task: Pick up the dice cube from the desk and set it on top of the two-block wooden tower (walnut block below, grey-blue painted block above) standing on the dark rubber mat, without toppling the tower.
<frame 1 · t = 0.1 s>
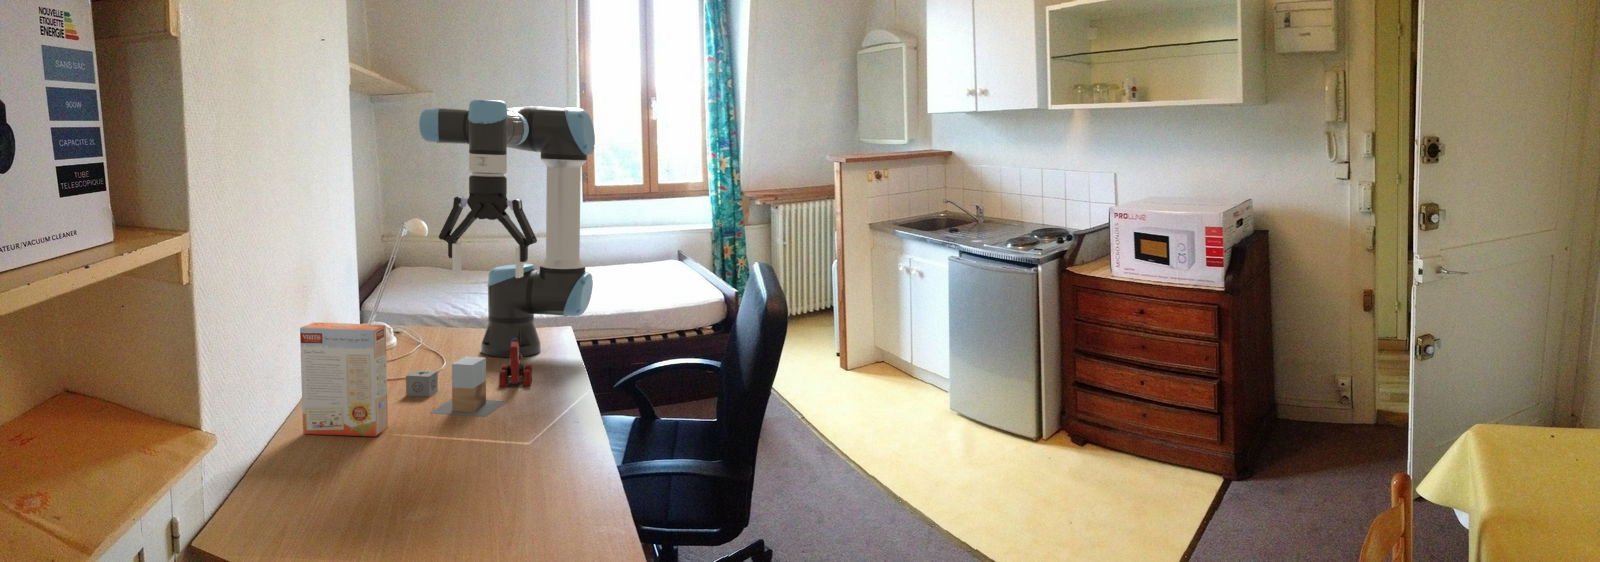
hand: (488, 275, 208), 28 cm above the table, fingers open, 13 cm apart
tower mid: (469, 383, 206), point 5 cm above the table, touching tower base
cracker box: (346, 432, 188), on the table
dice cube: (422, 396, 216), on the table
tower base: (469, 406, 207), resting on mat, touching tower mid
mat: (469, 408, 207), on the table
toy fire truck: (515, 385, 229), on the table
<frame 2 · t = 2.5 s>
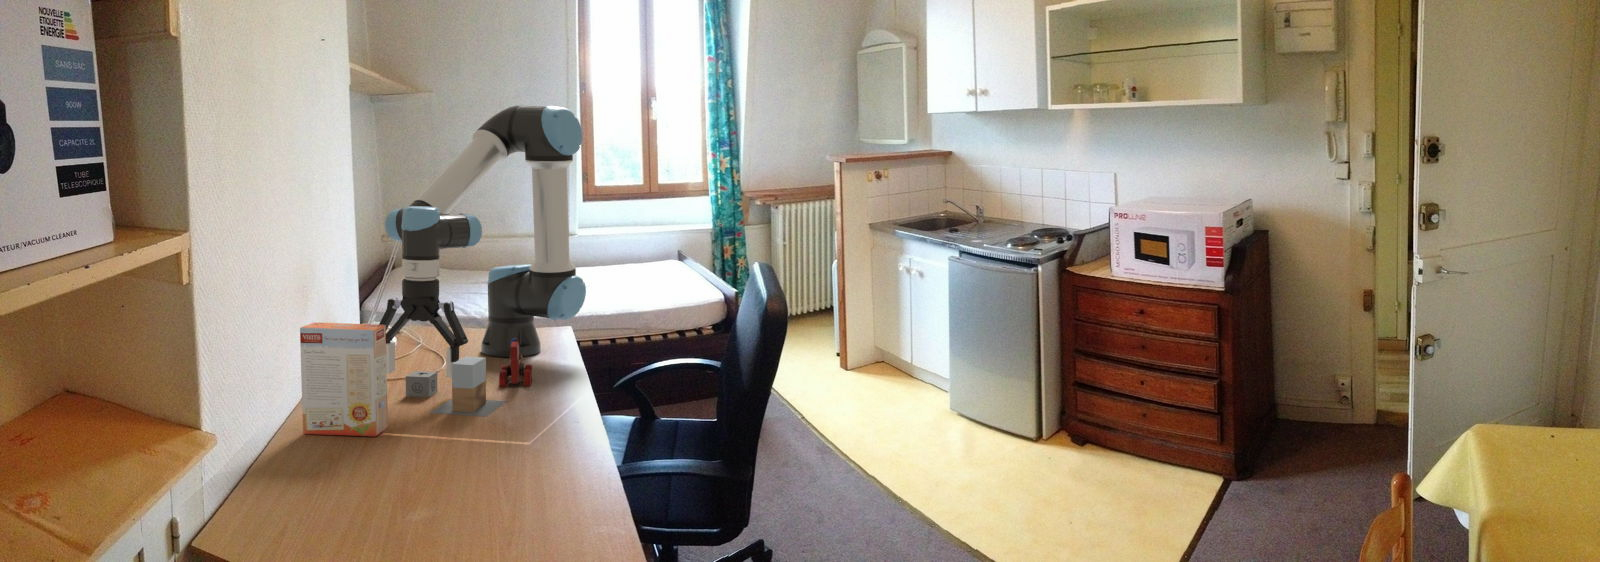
hand: (420, 374, 215), 5 cm above the table, fingers open, 13 cm apart
nothing on the table moved.
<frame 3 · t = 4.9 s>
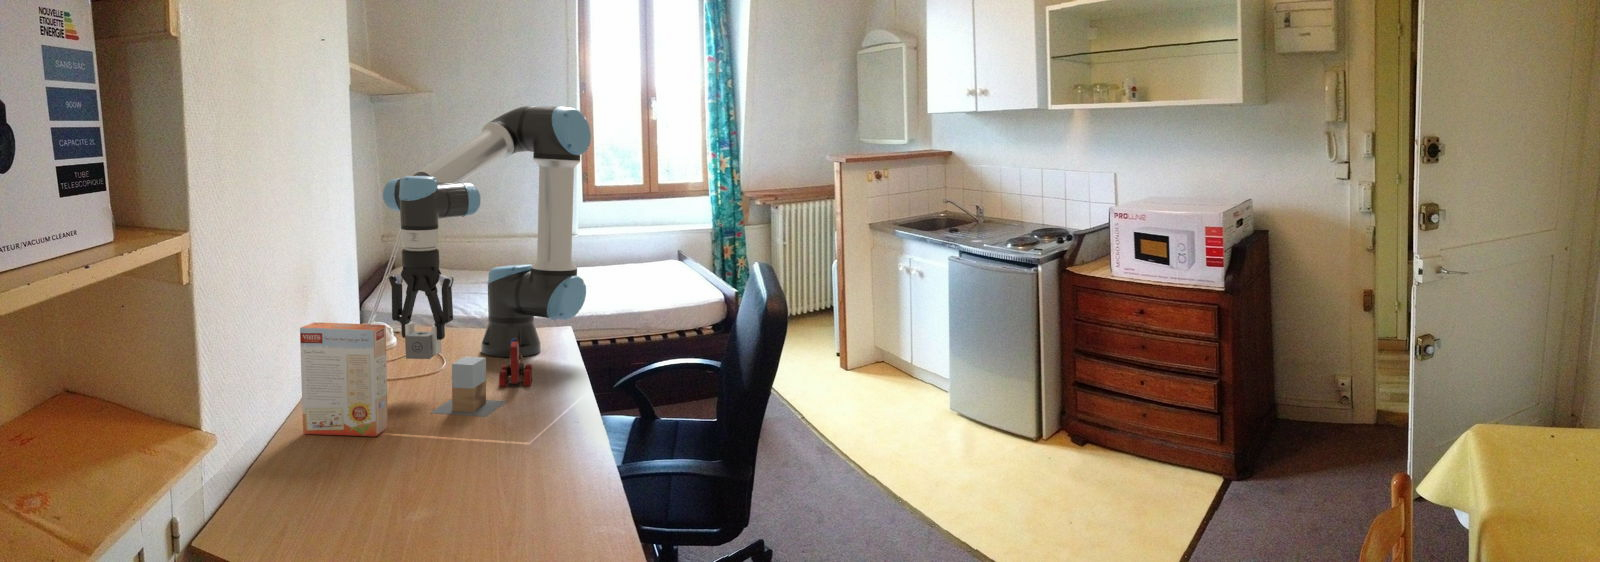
hand: (423, 352, 215), 9 cm above the table, fingers closed on dice cube, 5 cm apart
dice cube: (421, 357, 214), point 9 cm above the table, touching gripper
everything else where it was.
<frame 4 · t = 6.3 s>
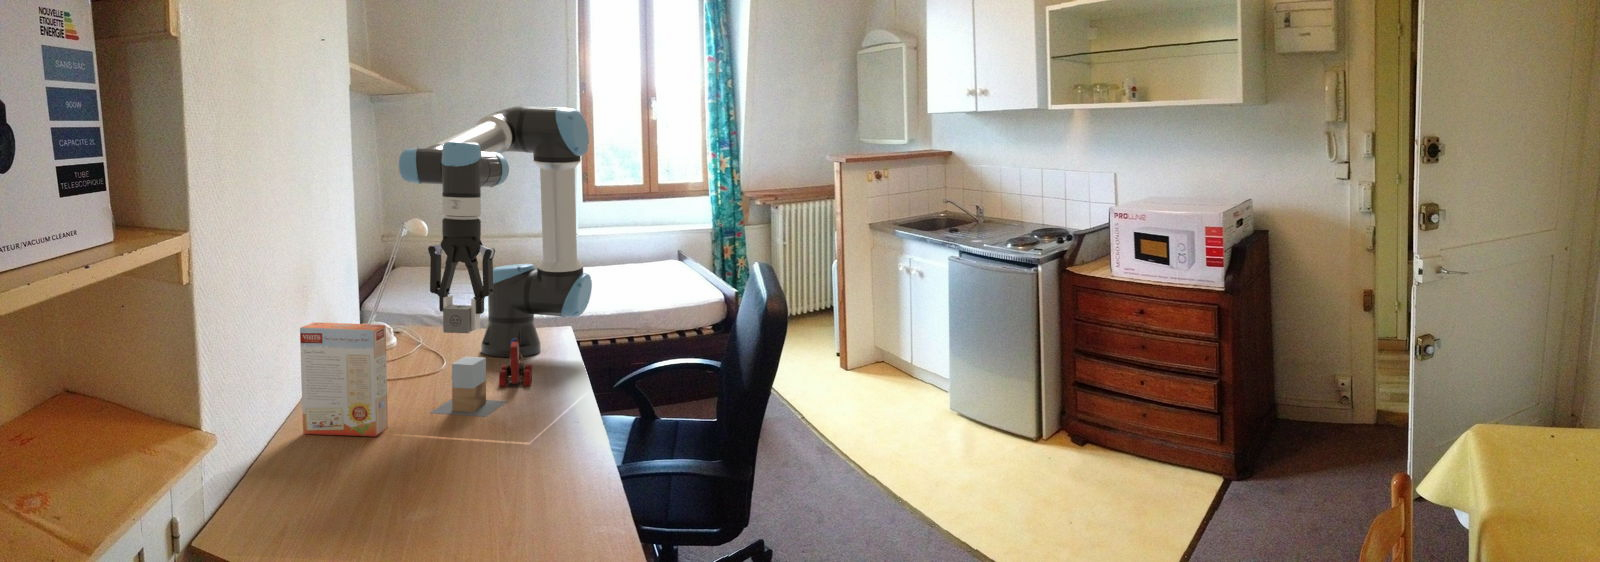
hand: (461, 327, 205), 17 cm above the table, fingers closed on dice cube, 5 cm apart
dice cube: (459, 331, 204), point 17 cm above the table, touching gripper
everything else where it was.
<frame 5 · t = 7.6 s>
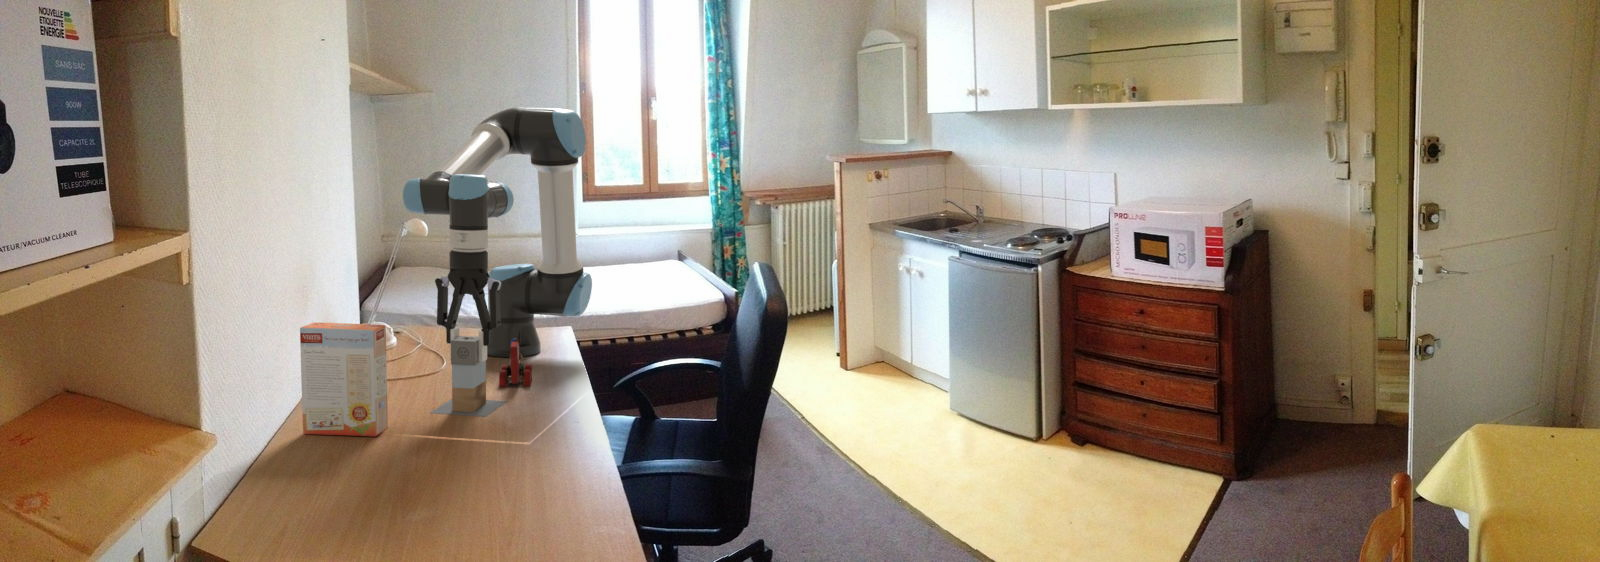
hand: (469, 359, 205), 11 cm above the table, fingers closed on dice cube, 5 cm apart
tower mid: (469, 383, 206), point 5 cm above the table, touching dice cube, tower base
dice cube: (467, 363, 204), point 10 cm above the table, touching gripper, tower mid
everything else where it was.
when the fingers open (10 cm above the table, at t = 8.0 s): dice cube stays where it is, resting on tower mid.
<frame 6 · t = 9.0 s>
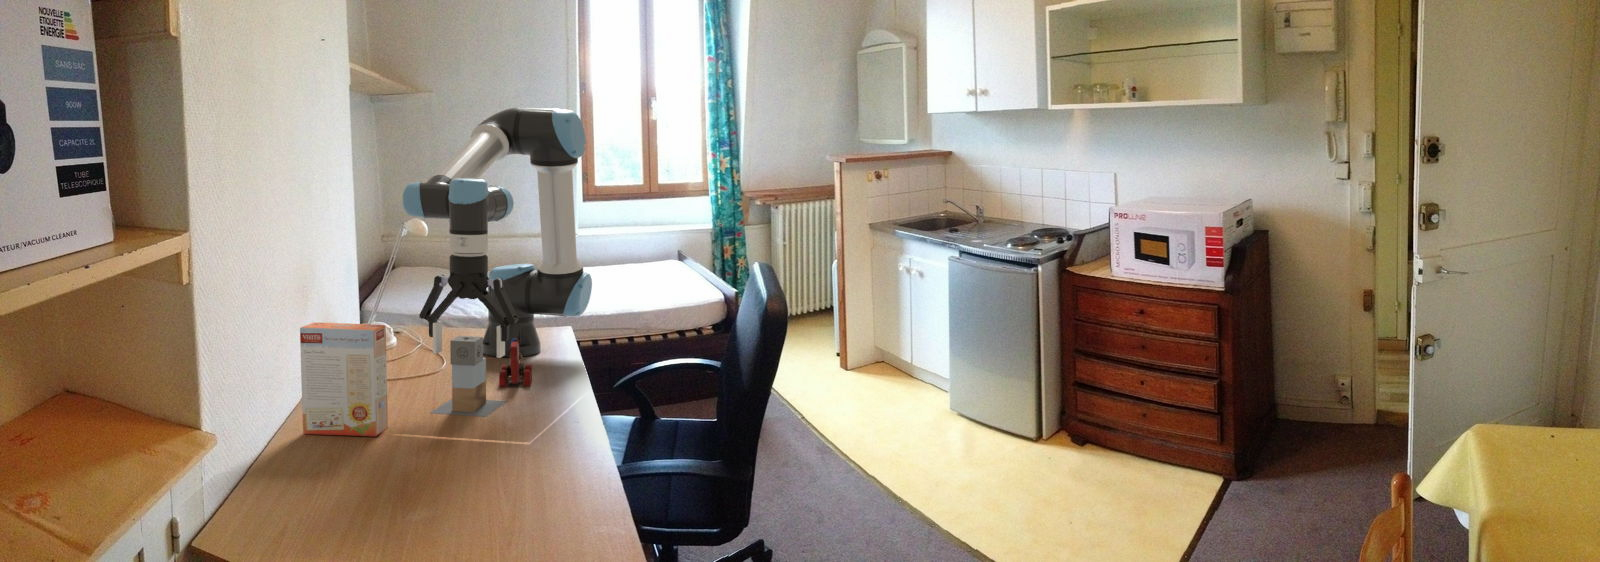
hand: (469, 354, 205), 12 cm above the table, fingers open, 13 cm apart
dice cube: (466, 363, 204), point 10 cm above the table, touching tower mid
everything else where it was.
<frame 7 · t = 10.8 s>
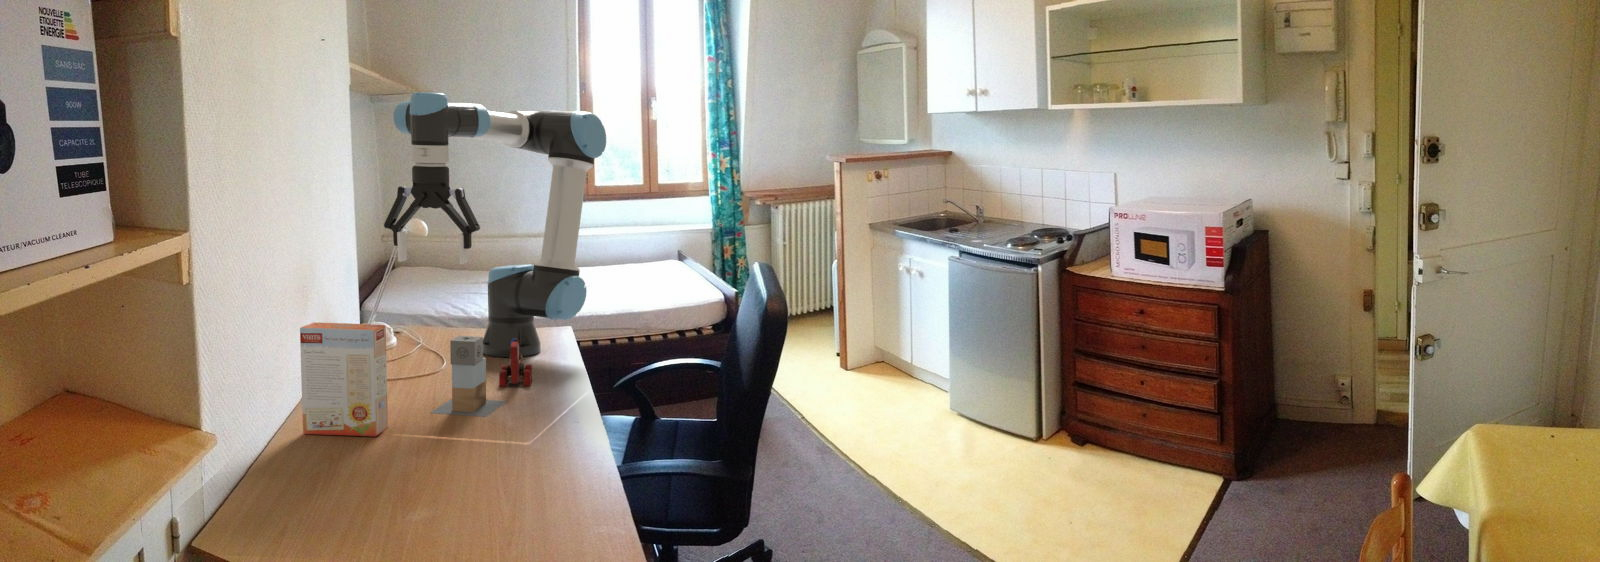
hand: (433, 262, 215), 29 cm above the table, fingers open, 13 cm apart
nothing on the table moved.
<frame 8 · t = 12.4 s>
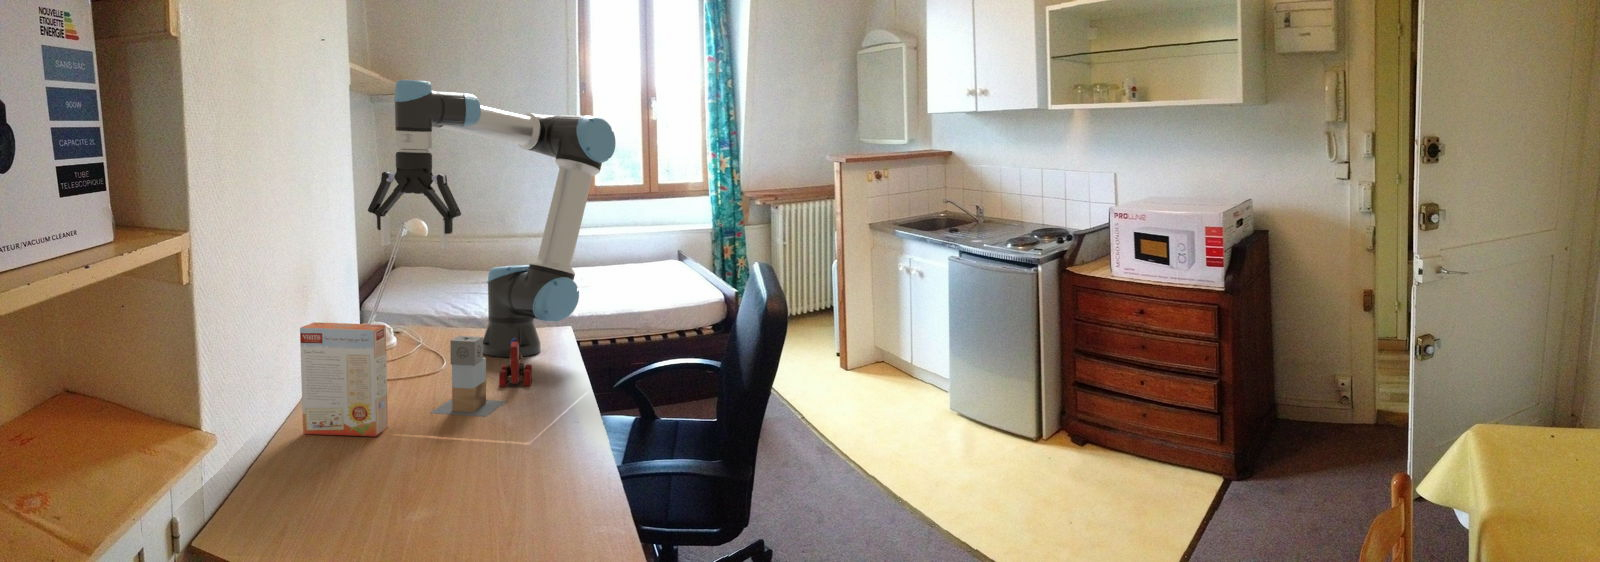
hand: (415, 246, 219), 32 cm above the table, fingers open, 13 cm apart
nothing on the table moved.
at the end: dice cube 1.4 cm from the tower mid (horizontally); dice cube point 10.2 cm above the table; tower mid tilted 0° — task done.
